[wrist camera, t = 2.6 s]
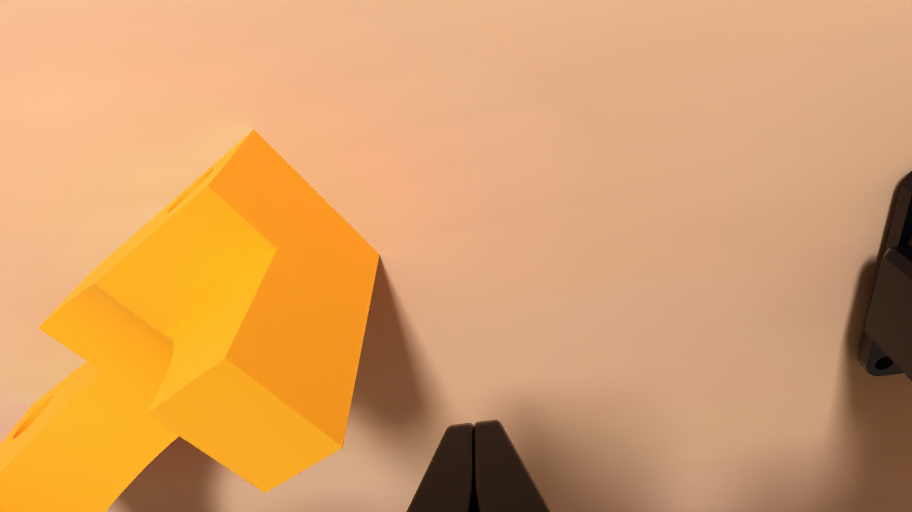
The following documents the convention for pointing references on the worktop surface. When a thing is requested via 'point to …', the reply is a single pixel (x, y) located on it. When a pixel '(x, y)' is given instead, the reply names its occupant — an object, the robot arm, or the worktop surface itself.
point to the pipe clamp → (203, 342)
